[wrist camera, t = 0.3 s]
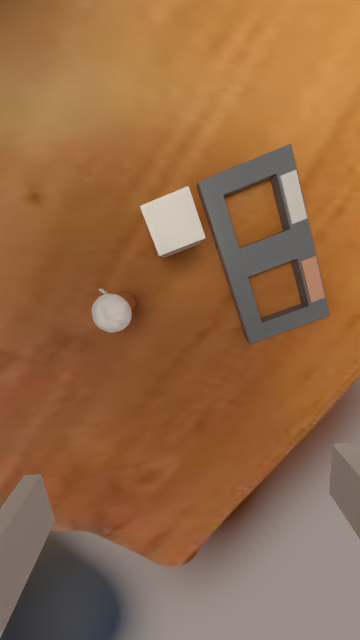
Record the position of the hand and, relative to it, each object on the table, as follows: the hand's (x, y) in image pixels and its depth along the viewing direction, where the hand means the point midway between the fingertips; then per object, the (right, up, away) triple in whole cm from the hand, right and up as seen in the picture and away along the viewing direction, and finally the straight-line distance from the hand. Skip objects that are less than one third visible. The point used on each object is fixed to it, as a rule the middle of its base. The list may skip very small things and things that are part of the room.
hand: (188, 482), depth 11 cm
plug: (-1, +19, +22) cm, 29 cm away
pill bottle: (-8, +11, +24) cm, 28 cm away
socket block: (+12, +17, +23) cm, 31 cm away
